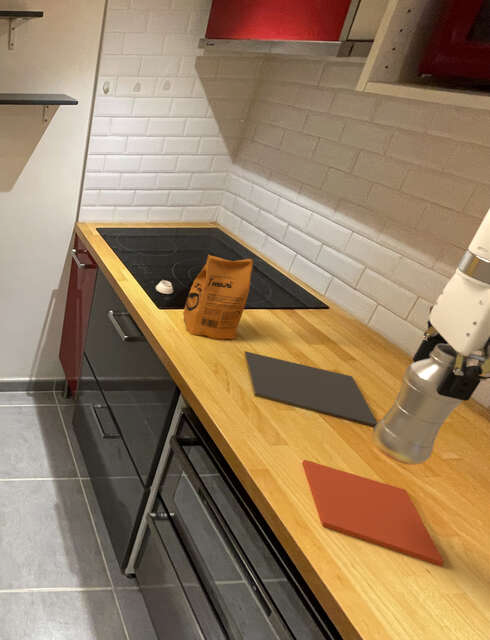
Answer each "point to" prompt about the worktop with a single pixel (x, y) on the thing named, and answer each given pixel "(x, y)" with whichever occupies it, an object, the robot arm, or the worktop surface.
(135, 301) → the worktop surface
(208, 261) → the coffee package
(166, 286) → the white ridged tapered disc
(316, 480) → the terracotta tile
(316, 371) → the slate board
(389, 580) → the worktop surface
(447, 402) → the plastic bottle
